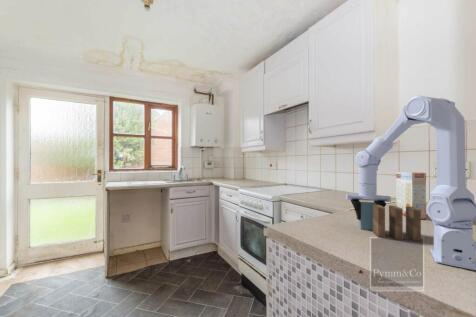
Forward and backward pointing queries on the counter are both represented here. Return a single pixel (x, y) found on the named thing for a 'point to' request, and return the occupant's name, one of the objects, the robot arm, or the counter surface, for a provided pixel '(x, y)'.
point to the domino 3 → (396, 222)
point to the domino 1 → (366, 215)
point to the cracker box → (411, 191)
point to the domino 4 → (413, 223)
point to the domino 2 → (379, 221)
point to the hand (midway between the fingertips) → (367, 220)
